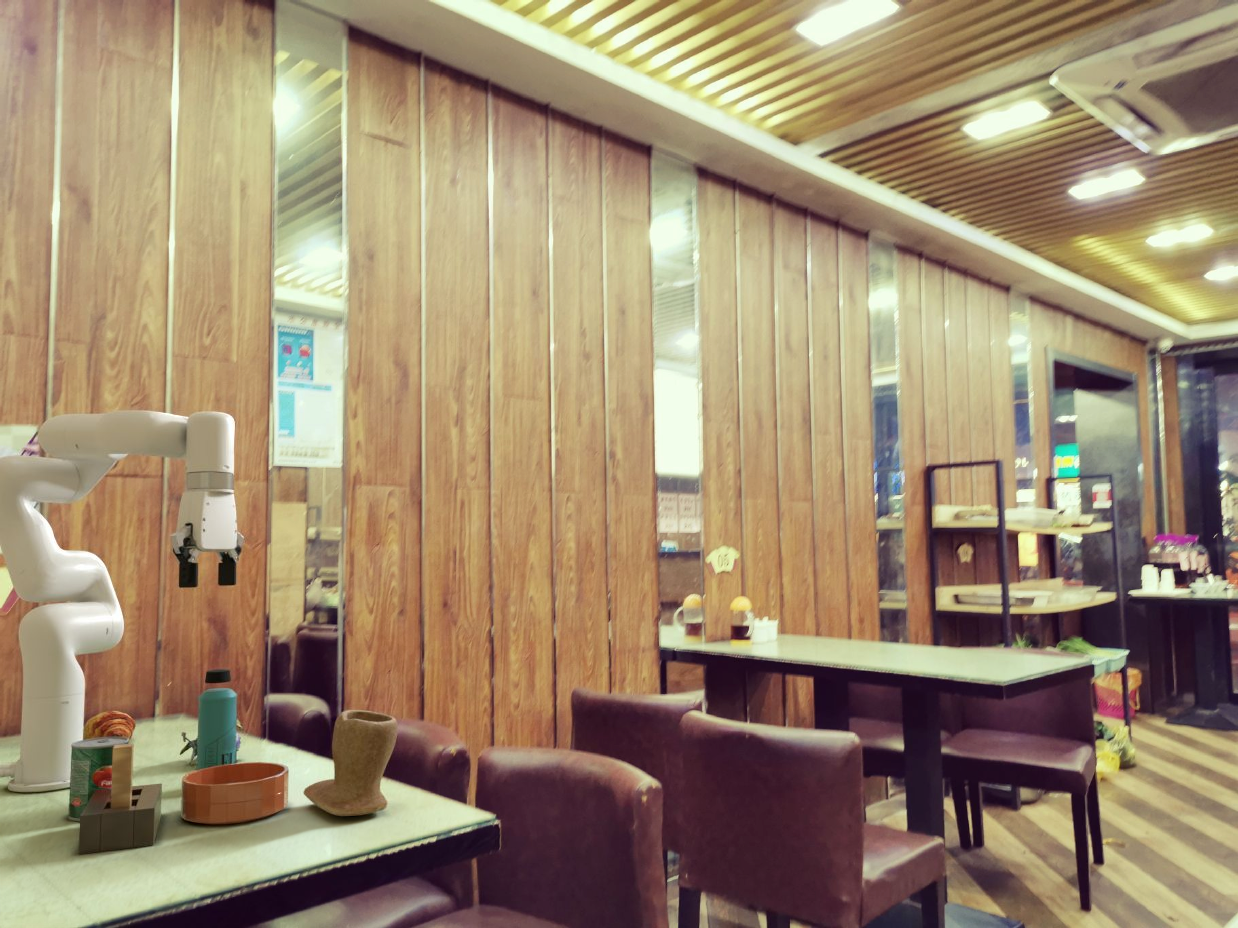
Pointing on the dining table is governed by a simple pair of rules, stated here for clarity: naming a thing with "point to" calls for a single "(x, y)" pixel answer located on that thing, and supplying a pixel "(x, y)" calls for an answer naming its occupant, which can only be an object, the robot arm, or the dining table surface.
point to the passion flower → (194, 744)
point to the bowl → (234, 792)
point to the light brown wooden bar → (122, 776)
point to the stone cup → (356, 764)
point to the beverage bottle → (216, 723)
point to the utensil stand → (120, 820)
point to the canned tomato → (90, 770)
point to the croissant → (109, 725)
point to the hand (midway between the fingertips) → (208, 586)
